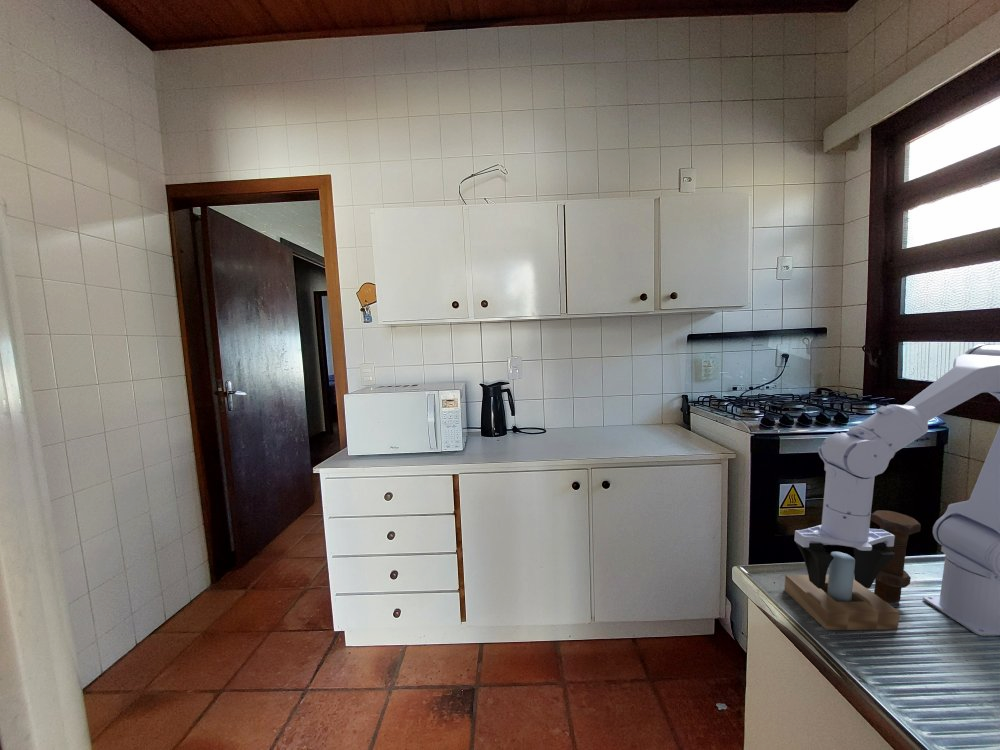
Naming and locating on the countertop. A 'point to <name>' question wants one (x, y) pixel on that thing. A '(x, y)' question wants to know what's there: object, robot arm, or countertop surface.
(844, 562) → the dowel
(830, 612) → the hole block
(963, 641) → the countertop surface
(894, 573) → the bolt
